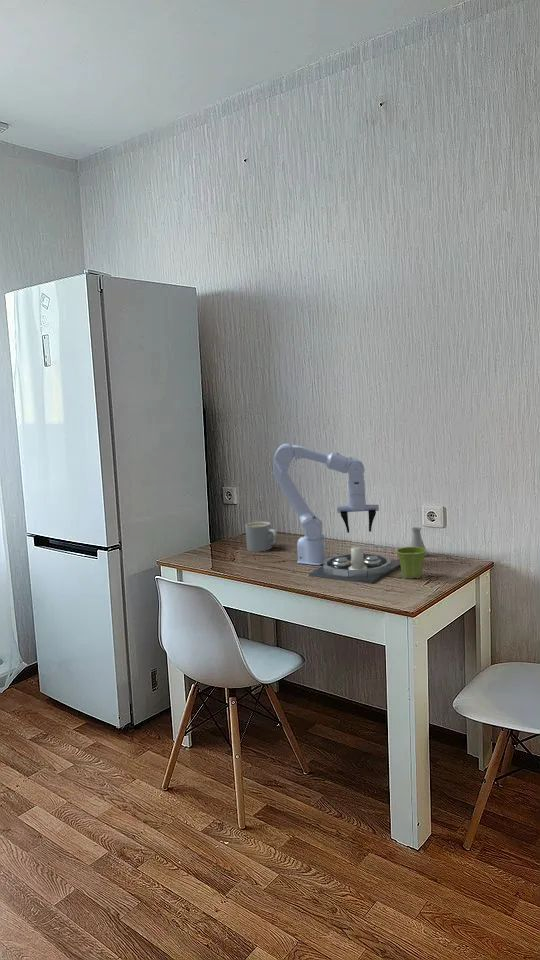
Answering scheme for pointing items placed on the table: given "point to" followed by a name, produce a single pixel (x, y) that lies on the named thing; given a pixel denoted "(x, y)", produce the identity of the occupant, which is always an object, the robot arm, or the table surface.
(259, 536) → the coffee mug
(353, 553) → the white mushroom peg
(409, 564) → the plant pot
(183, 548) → the table surface
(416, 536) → the flask
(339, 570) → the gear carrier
